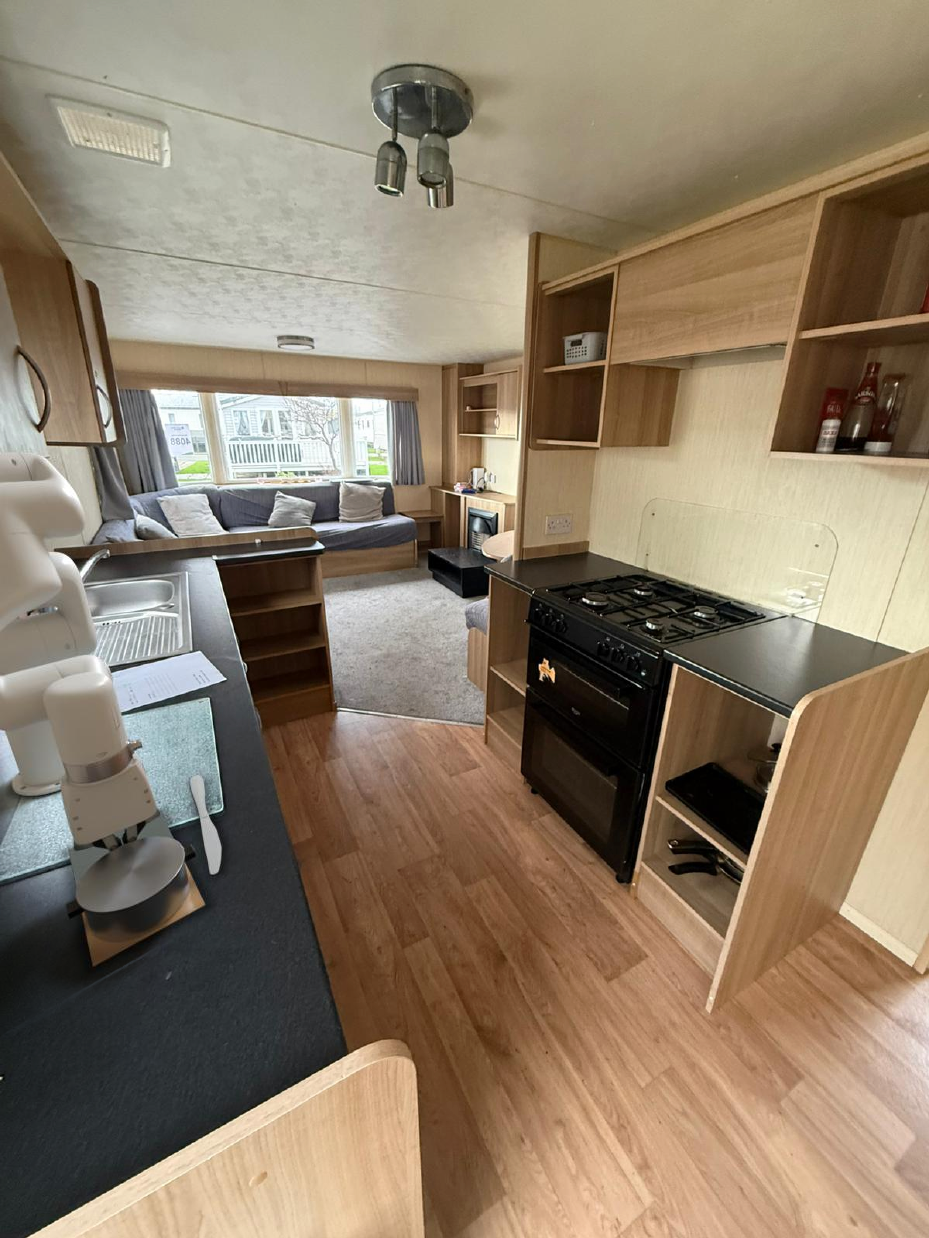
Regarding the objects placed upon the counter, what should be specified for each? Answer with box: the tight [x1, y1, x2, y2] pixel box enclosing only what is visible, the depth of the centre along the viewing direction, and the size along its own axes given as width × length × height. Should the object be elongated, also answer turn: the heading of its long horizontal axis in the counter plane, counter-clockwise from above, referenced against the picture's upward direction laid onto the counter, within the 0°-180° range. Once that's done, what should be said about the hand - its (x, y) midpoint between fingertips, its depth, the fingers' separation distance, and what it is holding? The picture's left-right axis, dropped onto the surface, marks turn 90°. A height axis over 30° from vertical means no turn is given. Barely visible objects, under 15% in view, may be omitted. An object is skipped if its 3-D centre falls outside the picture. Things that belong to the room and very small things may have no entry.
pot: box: [65, 837, 197, 942], centre depth 70 cm, size 13×15×6 cm
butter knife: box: [189, 774, 222, 876], centre depth 86 cm, size 1×27×3 cm
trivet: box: [81, 862, 206, 967], centre depth 70 cm, size 12×13×1 cm
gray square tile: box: [68, 810, 175, 889], centre depth 79 cm, size 12×13×1 cm
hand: (128, 862), depth 76 cm, fingers closed
